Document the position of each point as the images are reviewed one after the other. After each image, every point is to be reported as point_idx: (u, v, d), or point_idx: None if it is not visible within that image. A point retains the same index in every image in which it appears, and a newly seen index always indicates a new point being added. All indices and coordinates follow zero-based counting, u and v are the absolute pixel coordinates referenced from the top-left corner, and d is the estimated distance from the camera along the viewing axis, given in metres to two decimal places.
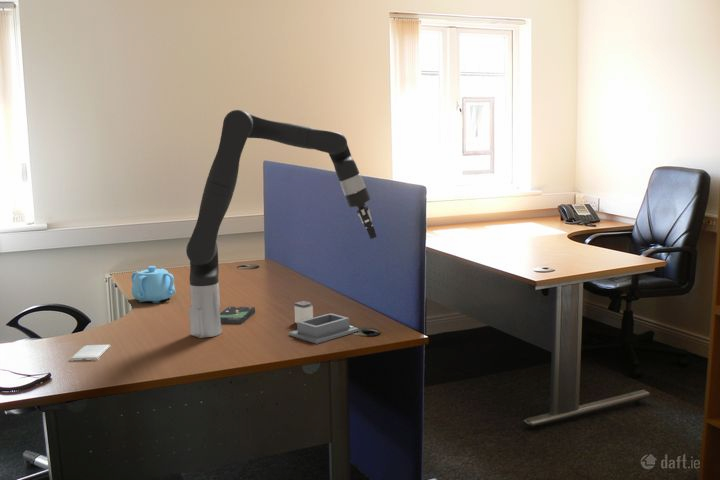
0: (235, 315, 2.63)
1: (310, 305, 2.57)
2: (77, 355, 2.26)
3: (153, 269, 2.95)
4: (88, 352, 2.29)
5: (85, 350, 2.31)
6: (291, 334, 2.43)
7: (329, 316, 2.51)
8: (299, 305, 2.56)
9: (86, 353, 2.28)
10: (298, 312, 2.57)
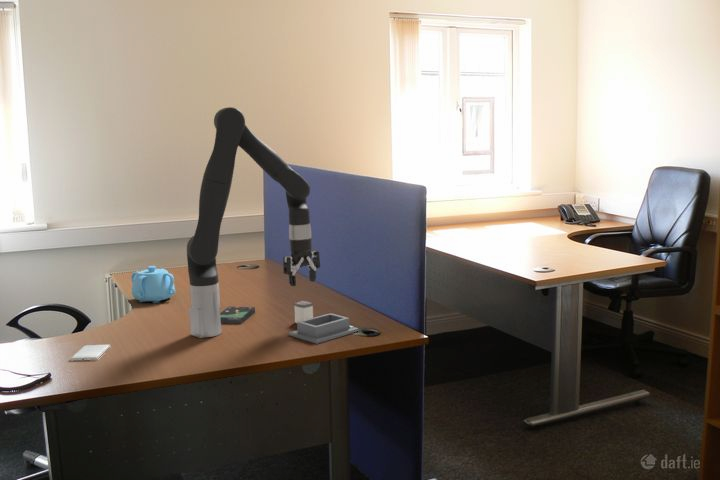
0: (235, 315, 2.63)
1: (310, 305, 2.57)
2: (77, 355, 2.26)
3: (153, 269, 2.95)
4: (88, 352, 2.29)
5: (85, 350, 2.31)
6: (291, 334, 2.43)
7: (329, 316, 2.51)
8: (299, 305, 2.56)
9: (86, 353, 2.28)
10: (298, 312, 2.57)
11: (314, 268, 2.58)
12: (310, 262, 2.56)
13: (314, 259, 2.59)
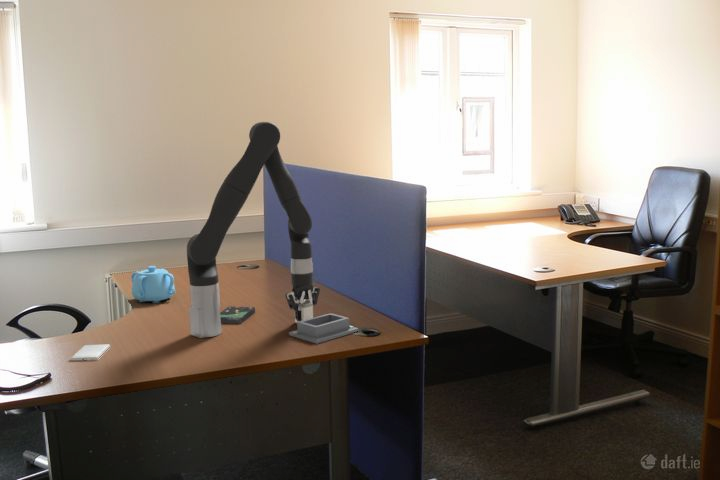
0: (234, 315, 2.63)
1: (310, 305, 2.57)
2: (77, 355, 2.26)
3: (153, 269, 2.95)
4: (88, 352, 2.29)
5: (85, 350, 2.31)
6: (291, 334, 2.43)
7: (329, 316, 2.51)
8: None
9: (86, 353, 2.28)
10: None
11: None
12: (309, 297, 2.57)
13: (313, 295, 2.61)
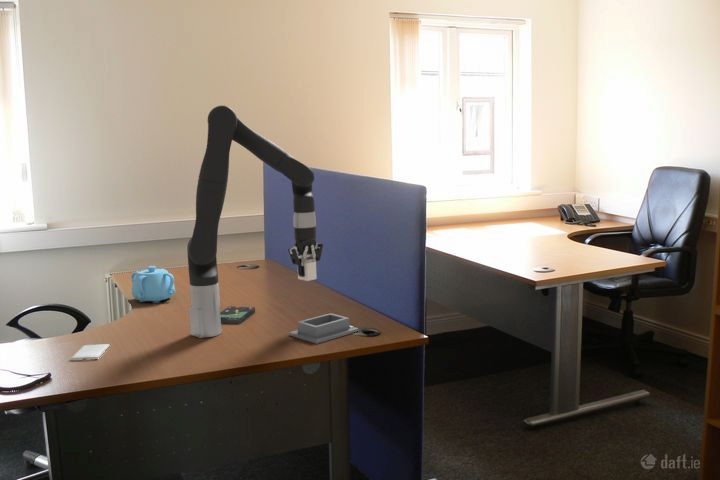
0: (234, 315, 2.63)
1: (313, 260, 2.51)
2: (77, 355, 2.26)
3: (153, 269, 2.95)
4: (88, 352, 2.29)
5: (85, 350, 2.31)
6: (291, 334, 2.43)
7: (329, 316, 2.51)
8: None
9: (86, 353, 2.28)
10: None
11: None
12: (313, 252, 2.52)
13: (316, 251, 2.55)
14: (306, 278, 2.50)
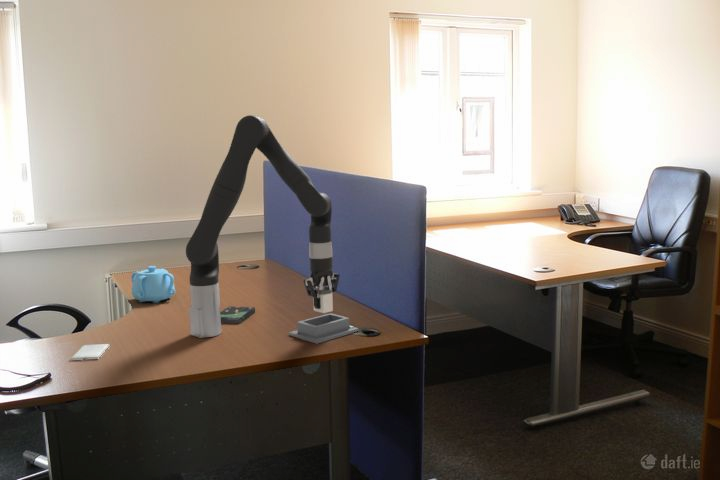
0: (234, 315, 2.63)
1: (330, 292, 2.42)
2: (78, 355, 2.26)
3: (153, 269, 2.95)
4: (88, 352, 2.29)
5: (85, 350, 2.31)
6: (291, 334, 2.43)
7: (329, 316, 2.51)
8: None
9: (86, 353, 2.28)
10: None
11: None
12: (329, 283, 2.43)
13: (332, 281, 2.46)
14: (322, 311, 2.41)
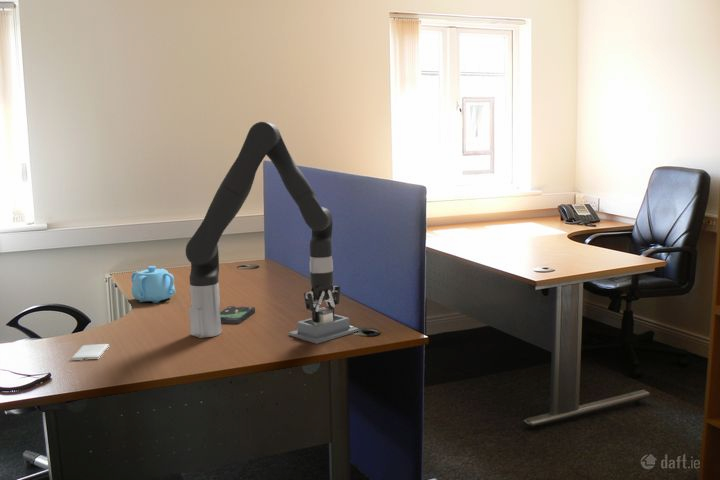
0: (234, 315, 2.63)
1: (330, 312, 2.43)
2: (78, 355, 2.26)
3: (153, 269, 2.95)
4: (88, 352, 2.29)
5: (85, 350, 2.31)
6: (291, 334, 2.43)
7: None
8: None
9: (86, 352, 2.28)
10: None
11: (333, 304, 2.45)
12: (330, 297, 2.43)
13: (334, 294, 2.47)
14: None
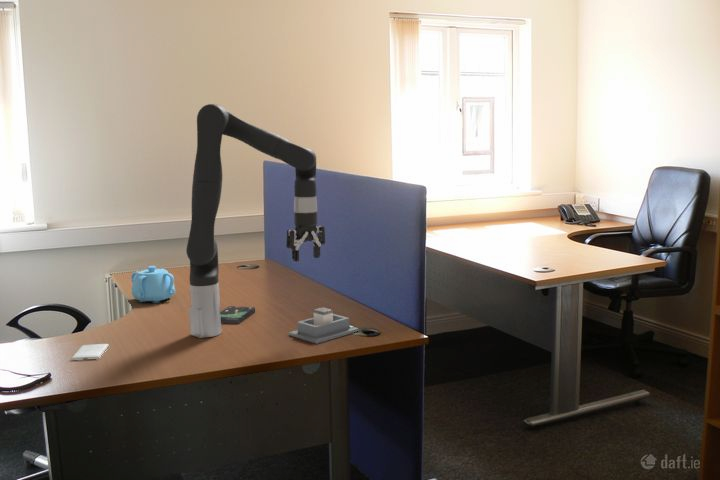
0: (233, 315, 2.63)
1: (330, 312, 2.43)
2: (78, 355, 2.26)
3: (153, 269, 2.95)
4: (88, 352, 2.29)
5: (85, 350, 2.31)
6: (291, 334, 2.43)
7: None
8: (318, 312, 2.42)
9: (86, 352, 2.29)
10: (317, 319, 2.43)
11: (319, 244, 2.46)
12: (315, 237, 2.44)
13: (319, 235, 2.47)
14: None
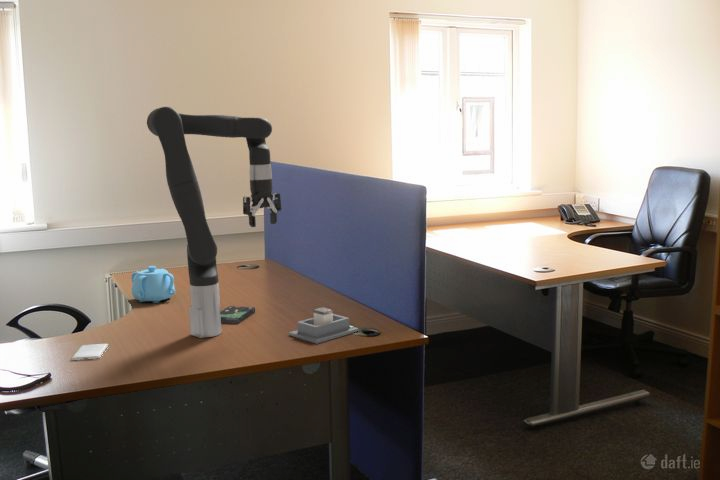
0: (233, 315, 2.63)
1: (330, 312, 2.43)
2: (78, 355, 2.26)
3: (153, 269, 2.95)
4: (88, 351, 2.29)
5: (84, 350, 2.31)
6: (291, 334, 2.43)
7: None
8: (318, 312, 2.42)
9: (86, 352, 2.29)
10: (317, 319, 2.43)
11: (275, 210, 2.56)
12: (271, 204, 2.54)
13: (275, 201, 2.58)
14: None
